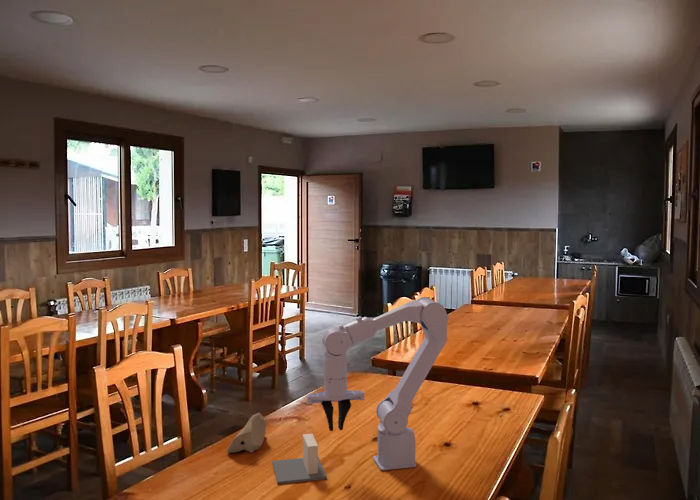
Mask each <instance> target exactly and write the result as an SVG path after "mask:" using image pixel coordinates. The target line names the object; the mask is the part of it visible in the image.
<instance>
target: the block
mask: <svg viewBox="0 0 700 500" xmlns="http://www.w3.org/2000/svg"><path fill="white" fill-rule="evenodd" d="M318 450H319V445H318V443H317V440H316V439H315V437H314V434H313V433H305V434H304V433H303V434H302V458H303V462H304V465H305V468H306V470H307V473H308V474H316V473H318V457H319V451H318Z"/></svg>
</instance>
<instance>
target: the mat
mask: <svg viewBox="0 0 700 500" xmlns="http://www.w3.org/2000/svg"><path fill="white" fill-rule="evenodd" d="M272 467H273V472H274V476H275V479H276V484H277V485H284V484H292V483H301V482H303V483H304V482H312V481H313V482H314V481H319V480H320V481H322V480H327V479H328V478H327V477H328V476H327V474H326V471H325V469H324V467H323V465H322V463H321V459H320V457H319V456H318V473H316V474H308V473H307V470H306V468H305V465H304V462H303V457H299V458H288V459H279V460H272Z"/></svg>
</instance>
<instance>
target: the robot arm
mask: <svg viewBox="0 0 700 500" xmlns="http://www.w3.org/2000/svg"><path fill="white" fill-rule="evenodd" d="M447 313H448V312H447V311H446V308H445V307H444V305H443V304H441V303H439V302H436V301H435V300H433V299H432V298H430V297H428V296H422V297H419V298H418V299H414V300H413V299H412V300H410V301H408V302H406V303H404V304H402V305H399V306H397V307H396V308H394V309H391V310H389V311H387V312H385V313H383V314H381V315H378V316H376V317H374V318H369V317H367V316H364V317H362V316H361V315H360V316H356V318H355V319H356V320H354V321H351V322H349V323H346V324H344V325H343V324H339V325H338V328H337V327H332V328H329V329H328V330H326V331H325V332H324V335H323V337H322V339H321V340H322V344H323V346H324V347H325V348H324V359H323V362H324V363H323V367H324V368H323V375H324V376H323V378H324V382H323V383H324V386H323V387H324V389H323V391H322V392H316V393H311V394H310V393H309V394H306V403H307V405H313V404H319V403H320V404H321V406H322V408H323V411H324V413H325V416H326V420H327V424H328V429H329V431H330V432H334V406H333V403H335V402H337V407H338V411H337V412H338V422H337V425H338V429H339V431H343V430H344V425H345V421H346V418H347V415H348V413H349V411H350V410H351V407H352V403H351V401H357V400H359V401H365V392H364V390H348V359H347V351H348V350H349V348H352V347H354V346H358V345H360V344H362V343H364V342H366V341H367V342H368V341H369V340H371V339H374V338H375V337H376V335H377V333H378V331H381V330H384V329H387V328H389V327H390V328H391V327H392V326H395V325H398V324H401V323H403V322H404V323H405V322H410V323H415V324H416V323H417V324H420V325H421V329H422V332H423V335H424V338H423V340H422V342H421V344H420V345H419V346H418V349H417V350H416V352H415V353H414V355H413V357H412V358H411V361H410V362H409V364H408V366H407V368H406V369H405V370H404V372H403V375H402V376H401V378H400V379H399V381H398V383H397V384H396V386H395V388H394V389H392V390H391V391H390V392H389V393H388V394H387V395H386V396H385V398H384V399H382V400H381V401H380V402H378V404H377V406H376V411H375V412H376V416H377V418H378V419H379V423H378V426H377V455H373V456H372V459H373V460H374V462H375V464H376V466H377V467H378V468H379V470H380V471H389V470H399V469H409V468H416V467H417V464H416V451H417V450H416V448H417V447H416V443H417V442H416V435H415V432H414V430H413V428H412V427H407V426H408V423H409V416H410V414H411V413H412V406H413V404H412V403H413V400H414V399H415V396H416V395H417V394H418V392H419V390H420V387H421V386H422V385H423V383H424V381H425V380H426V378H427V376H428V374H429V372H430V371H431V369H432V367H433V366H434V364H435V362H436V360H437V359H438V357H439V355H440V353H441V352H442V350H443V349H444V346H445V345H446V343H447V339H448V338H447V337H448V335H447V334H448V322H449V320H450V318H449V315H448V314H447Z"/></svg>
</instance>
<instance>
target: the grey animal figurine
mask: <svg viewBox="0 0 700 500" xmlns="http://www.w3.org/2000/svg"><path fill="white" fill-rule="evenodd" d="M266 430H267V419H266V418H265V416H263V415H262V414H261V413H260V412H258V413H255V414H253V415H252V416H250V417H249V419H248V421H247V423H246V424H245V425H244V427H243V428H242V429H241V430H240V431H239V432H238V434H236V436H234V438H233V439H232V441H231V442H230V443H229V445H228V447H227V449H226V452H227V453H228V454H235V453H237V452H241V451H247V452H249V453H251V454H253V452H255V451H259V449H260V448H261V447H262V445H263V442H264V440H265V437H266Z"/></svg>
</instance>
